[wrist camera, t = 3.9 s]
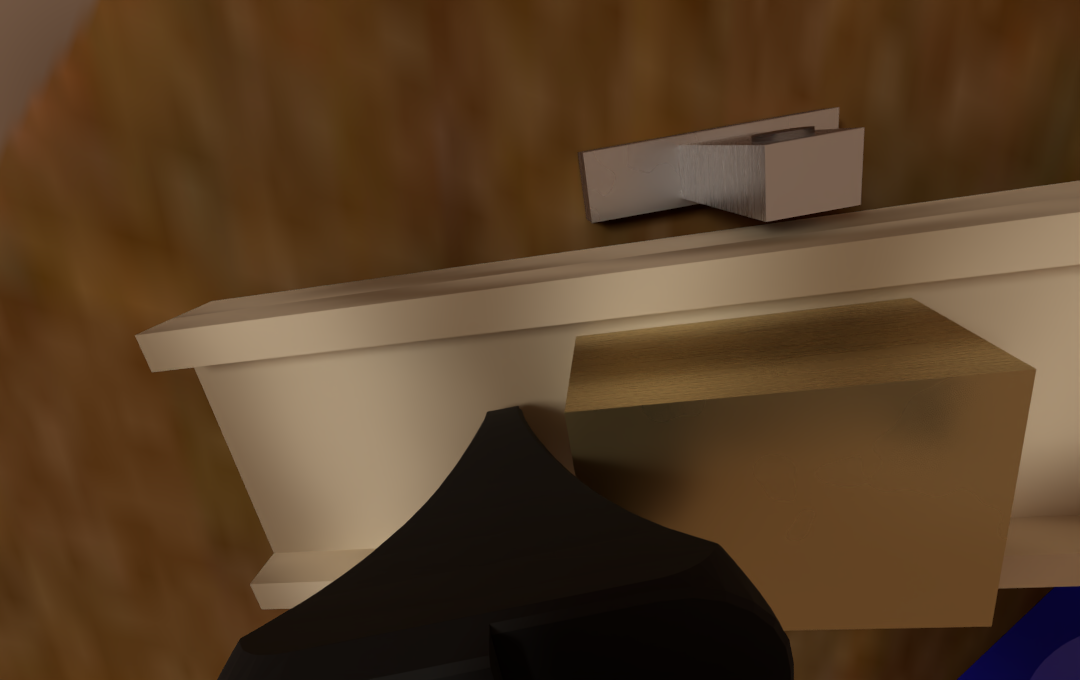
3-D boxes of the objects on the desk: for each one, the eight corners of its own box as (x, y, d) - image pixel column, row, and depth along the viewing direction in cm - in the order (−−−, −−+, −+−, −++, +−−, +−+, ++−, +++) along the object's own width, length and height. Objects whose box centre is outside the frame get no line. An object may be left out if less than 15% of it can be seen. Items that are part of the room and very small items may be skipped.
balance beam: (308, 544, 15) (245, 631, 12) (211, 301, 13) (108, 346, 10) (1427, 487, 11) (1682, 600, 8) (1619, 105, 8) (2073, 96, 6)
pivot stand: (625, 513, 17) (677, 657, 12) (577, 152, 13) (624, 156, 8) (812, 478, 17) (935, 606, 12) (819, 109, 13) (1001, 89, 8)
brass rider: (604, 517, 12) (602, 634, 9) (575, 336, 10) (564, 412, 8) (895, 500, 11) (991, 626, 8) (912, 297, 9) (1035, 369, 7)
